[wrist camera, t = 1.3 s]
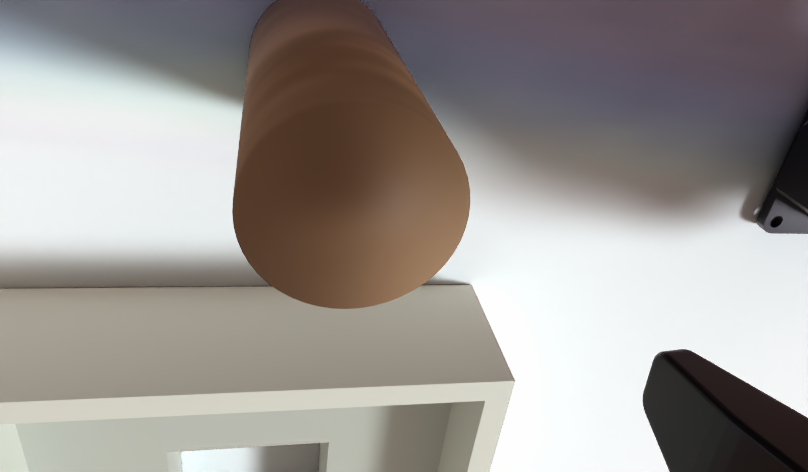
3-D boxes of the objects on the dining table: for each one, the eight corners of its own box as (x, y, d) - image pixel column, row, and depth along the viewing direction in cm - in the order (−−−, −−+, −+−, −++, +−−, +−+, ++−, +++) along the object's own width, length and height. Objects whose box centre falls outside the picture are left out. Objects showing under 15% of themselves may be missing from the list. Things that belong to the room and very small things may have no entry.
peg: (396, -7, 18) (490, 107, 10) (381, 128, 20) (450, 307, 12) (248, -20, 17) (229, 93, 9) (249, 122, 19) (235, 310, 11)
